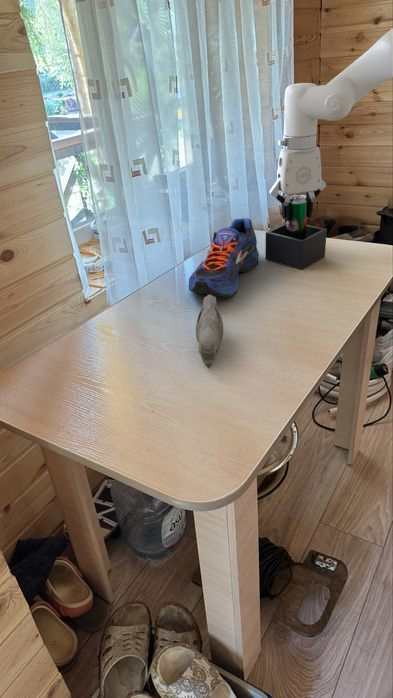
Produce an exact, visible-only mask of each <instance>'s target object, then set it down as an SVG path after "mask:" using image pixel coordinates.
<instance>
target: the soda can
mask: <svg viewBox="0 0 393 698" xmlns="http://www.w3.org/2000/svg"><path fill="white" fill-rule="evenodd" d="M289 205H290V221H286V222H285V223H286V236H288V237H292V238H296V239H300V240H304V239H305V238H306V225H308V224H307V223H308V217H307V205H308V201H307V199H306V195H305V194H292V195H291V197H290V200H289Z"/></svg>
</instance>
